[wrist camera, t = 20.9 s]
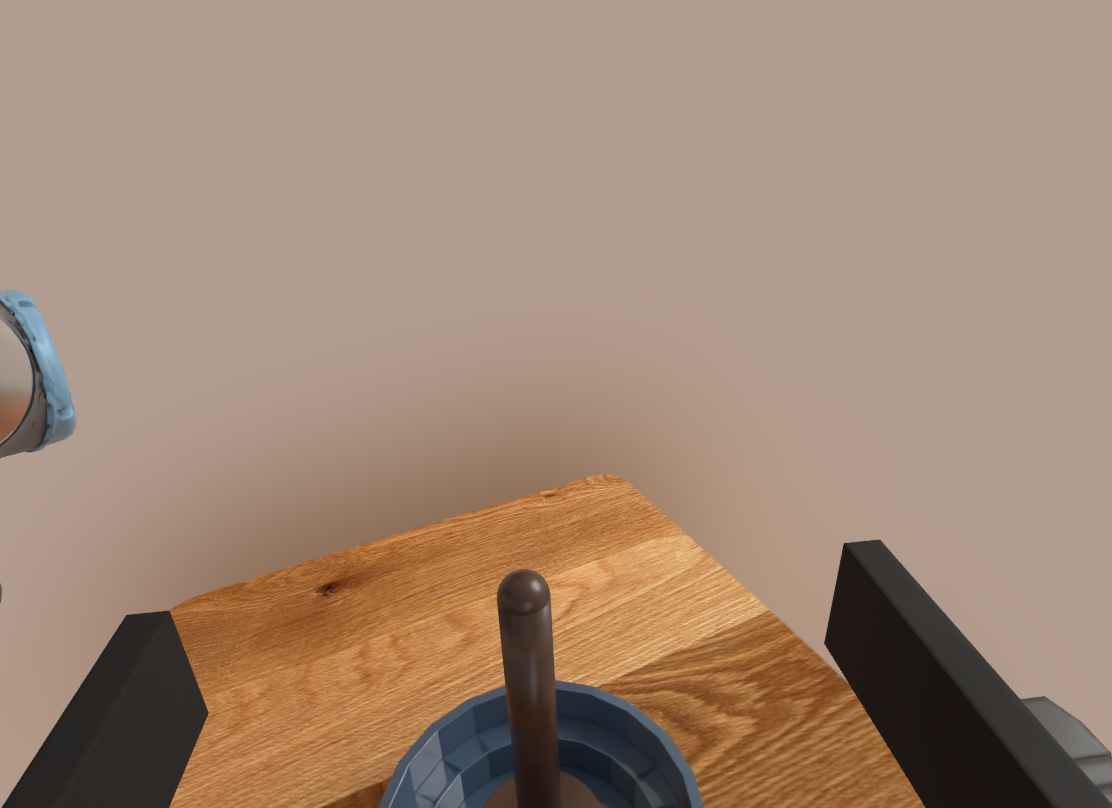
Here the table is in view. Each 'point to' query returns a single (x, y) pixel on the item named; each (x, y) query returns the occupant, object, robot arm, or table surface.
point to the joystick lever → (532, 700)
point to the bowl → (584, 752)
